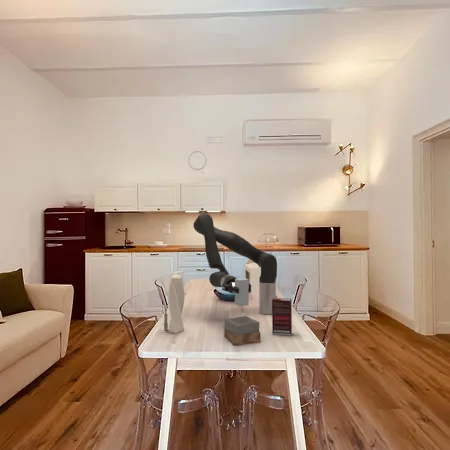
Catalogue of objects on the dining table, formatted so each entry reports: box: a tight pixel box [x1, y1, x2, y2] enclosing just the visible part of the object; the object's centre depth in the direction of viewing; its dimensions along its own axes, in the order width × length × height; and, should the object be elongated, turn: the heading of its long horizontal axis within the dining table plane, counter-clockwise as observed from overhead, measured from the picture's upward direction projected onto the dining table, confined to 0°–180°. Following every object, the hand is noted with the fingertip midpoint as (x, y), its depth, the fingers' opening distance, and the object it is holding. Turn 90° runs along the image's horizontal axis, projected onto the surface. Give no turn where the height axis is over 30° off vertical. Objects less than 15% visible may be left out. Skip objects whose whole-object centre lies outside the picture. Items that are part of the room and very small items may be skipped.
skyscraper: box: [163, 270, 185, 335], centre depth 158 cm, size 8×8×28 cm
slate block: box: [234, 277, 250, 307], centre depth 147 cm, size 5×5×11 cm
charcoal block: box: [224, 315, 260, 335], centre depth 147 cm, size 11×11×4 cm
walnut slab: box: [223, 326, 261, 347], centre depth 147 cm, size 12×12×4 cm
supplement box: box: [271, 297, 293, 337], centre depth 154 cm, size 9×5×16 cm, turn 74°
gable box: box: [244, 258, 261, 293], centre depth 258 cm, size 22×13×28 cm, turn 8°
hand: (244, 290), depth 144 cm, fingers closed on slate block, 4 cm apart
